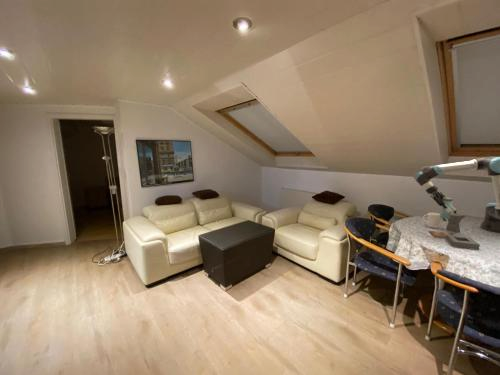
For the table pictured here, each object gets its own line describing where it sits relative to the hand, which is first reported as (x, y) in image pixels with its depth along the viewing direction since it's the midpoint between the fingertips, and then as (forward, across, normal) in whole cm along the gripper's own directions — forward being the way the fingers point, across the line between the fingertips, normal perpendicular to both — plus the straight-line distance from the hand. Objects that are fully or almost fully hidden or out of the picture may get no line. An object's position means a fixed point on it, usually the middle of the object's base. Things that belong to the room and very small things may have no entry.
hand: (452, 211), depth 167 cm
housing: (+23, +8, -8) cm, 26 cm away
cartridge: (+2, 0, -7) cm, 8 cm away
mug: (+2, -16, -30) cm, 34 cm away
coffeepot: (+12, -18, -20) cm, 29 cm away
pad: (+13, 0, -18) cm, 22 cm away
